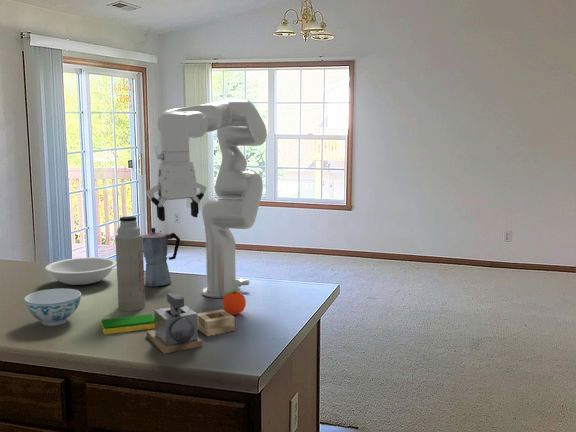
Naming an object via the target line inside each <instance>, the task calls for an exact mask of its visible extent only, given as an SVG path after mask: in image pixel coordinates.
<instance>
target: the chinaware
mask: <svg viewBox="0 0 576 432" xmlns="http://www.w3.org/2000/svg"><path fill="white" fill-rule="evenodd" d="M81 299H82V293H81V291H79V290H78V289H74V288H52V289H51V288H50V289H43V290H37V291H34V292H32V293H30V294H27V295H26V296H25V297H24V303H25V306H26V308H27V310H28V312H29V313H30V314H31V316H32V317H34V318H36V320H39V321H41V324H42V325H44V326H49V327H51V326H58V325H59V326H60V325H63V324H65V323H67V322H68V319H69V318H70V317H72V315H73V314H74V313H75V312H76V310H77V309H78V307H79V305H80V302H81Z"/></svg>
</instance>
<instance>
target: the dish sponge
mask: <svg viewBox="0 0 576 432" xmlns="http://www.w3.org/2000/svg"><path fill="white" fill-rule="evenodd" d="M101 328H102V331H103V334H104V335H109V334H117V333H118V334H119V333H126V332H134V331H141V330H153V329H155V316H154V315H153V314H152V313H150V314H141V315H140V314H139V315H132V316H121V317H115V318H114V317H113V318H106V319H105V318H104V319H101Z"/></svg>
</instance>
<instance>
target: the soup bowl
mask: <svg viewBox="0 0 576 432" xmlns="http://www.w3.org/2000/svg"><path fill="white" fill-rule="evenodd" d="M115 267H117V262H116V259H115V260H114V259H111V258H109V257H108V258H106V257H92V256H91V257H90V256H89V257H75V258H68V259H67V258H66V259H61V260H58V261H54V262H51V263H48V264H47V265H46V266H45V268H44V269H45V271H46V272H48V273H50V274H51V275H52V276H53V278H54V279H56V280H57V281H58V282H59V283H62V284H67V285H71V286H79V285H80V286H81V285H82V286H83V285H90V284H94V283H97V282H100V281H102V280H104V279H105V278H106V277H107V276H109V274H110V273H111V272H112V270H113V268H115Z"/></svg>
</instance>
